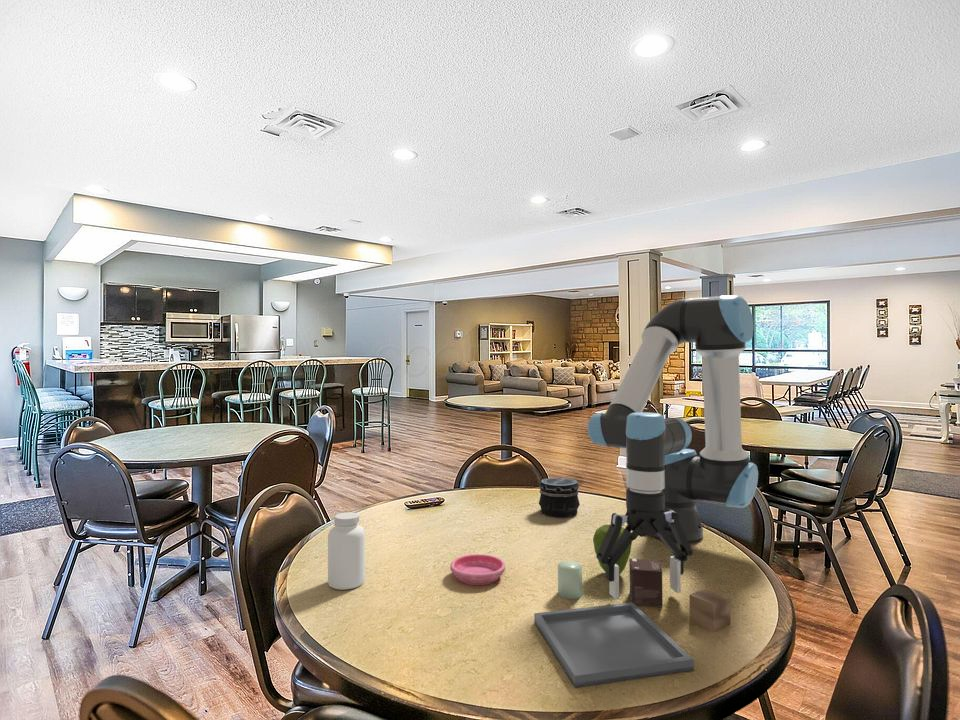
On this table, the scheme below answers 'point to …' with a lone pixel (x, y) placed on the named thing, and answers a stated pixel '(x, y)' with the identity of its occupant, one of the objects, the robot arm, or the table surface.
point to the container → (559, 497)
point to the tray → (610, 644)
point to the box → (646, 582)
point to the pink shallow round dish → (477, 569)
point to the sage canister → (569, 580)
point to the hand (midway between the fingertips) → (645, 593)
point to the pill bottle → (346, 552)
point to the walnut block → (710, 609)
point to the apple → (600, 537)
